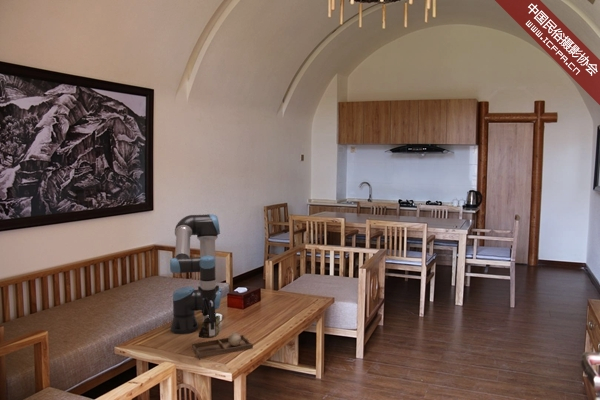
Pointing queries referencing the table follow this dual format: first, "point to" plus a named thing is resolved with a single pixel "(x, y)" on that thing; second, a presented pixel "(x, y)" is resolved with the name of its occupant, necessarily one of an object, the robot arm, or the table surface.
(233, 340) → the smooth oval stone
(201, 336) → the seashell
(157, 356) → the table surface
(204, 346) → the holder
